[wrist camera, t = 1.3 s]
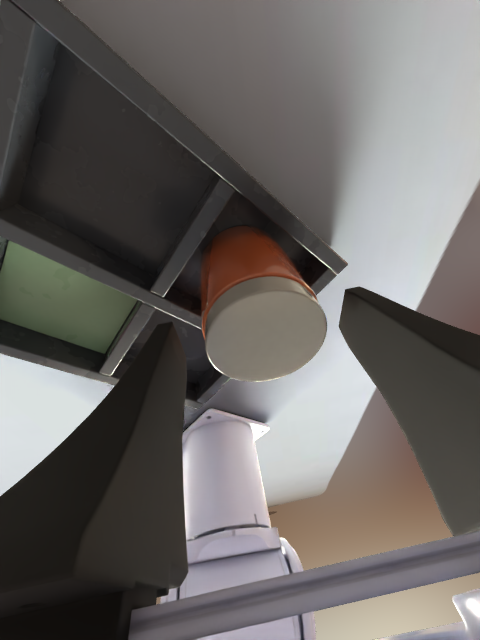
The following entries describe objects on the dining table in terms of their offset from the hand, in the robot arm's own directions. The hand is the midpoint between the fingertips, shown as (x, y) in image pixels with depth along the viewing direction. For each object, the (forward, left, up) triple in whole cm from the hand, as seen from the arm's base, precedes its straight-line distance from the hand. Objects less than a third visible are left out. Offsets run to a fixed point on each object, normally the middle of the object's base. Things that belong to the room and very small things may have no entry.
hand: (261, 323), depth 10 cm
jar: (0, 0, -5) cm, 5 cm away
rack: (-4, +4, -6) cm, 8 cm away
